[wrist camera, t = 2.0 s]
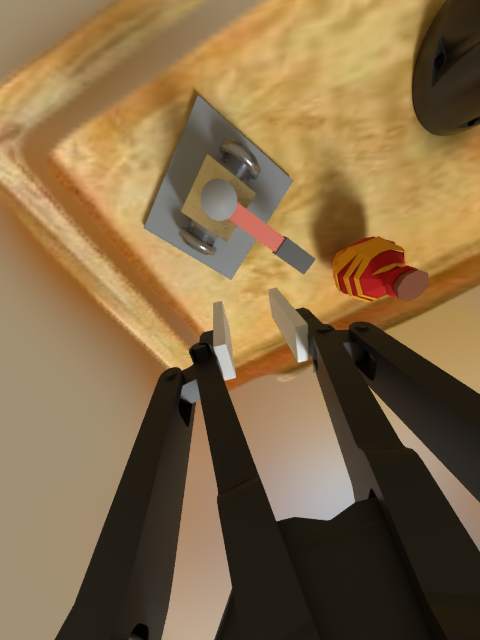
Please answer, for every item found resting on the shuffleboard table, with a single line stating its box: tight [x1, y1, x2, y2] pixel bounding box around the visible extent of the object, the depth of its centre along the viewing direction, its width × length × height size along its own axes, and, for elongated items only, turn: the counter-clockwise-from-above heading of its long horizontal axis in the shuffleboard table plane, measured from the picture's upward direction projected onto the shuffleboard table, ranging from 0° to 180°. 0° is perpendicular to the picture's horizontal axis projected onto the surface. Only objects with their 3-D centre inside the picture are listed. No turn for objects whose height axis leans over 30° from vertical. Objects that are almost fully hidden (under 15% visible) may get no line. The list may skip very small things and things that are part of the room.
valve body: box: [179, 138, 261, 255], centre depth 28 cm, size 14×7×8 cm, turn 148°
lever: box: [201, 178, 315, 274], centre depth 25 cm, size 16×4×2 cm, turn 57°
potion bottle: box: [331, 236, 429, 302], centre depth 32 cm, size 10×10×15 cm
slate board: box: [144, 95, 293, 279], centre depth 31 cm, size 18×16×1 cm
